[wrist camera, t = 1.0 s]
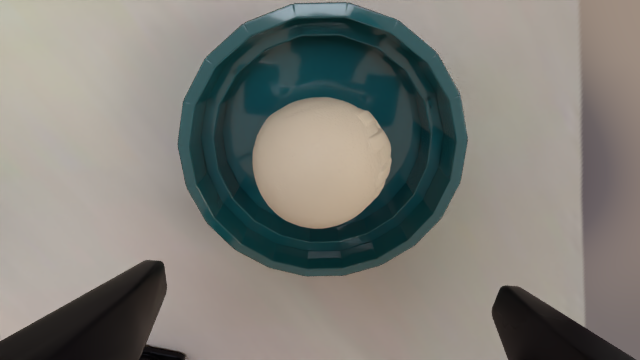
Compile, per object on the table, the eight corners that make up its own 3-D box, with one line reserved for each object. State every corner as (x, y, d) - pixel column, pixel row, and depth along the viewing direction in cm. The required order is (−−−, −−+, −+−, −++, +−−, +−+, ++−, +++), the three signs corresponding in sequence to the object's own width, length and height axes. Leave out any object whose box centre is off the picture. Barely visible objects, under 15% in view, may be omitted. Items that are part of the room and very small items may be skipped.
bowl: (189, 210, 22) (164, 243, 18) (227, -30, 16) (202, -50, 13) (386, 259, 24) (399, 298, 20) (482, 59, 18) (523, 63, 15)
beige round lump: (387, 178, 21) (417, 234, 15) (281, 202, 22) (267, 265, 15) (369, 73, 18) (395, 89, 12) (249, 104, 19) (216, 134, 13)
